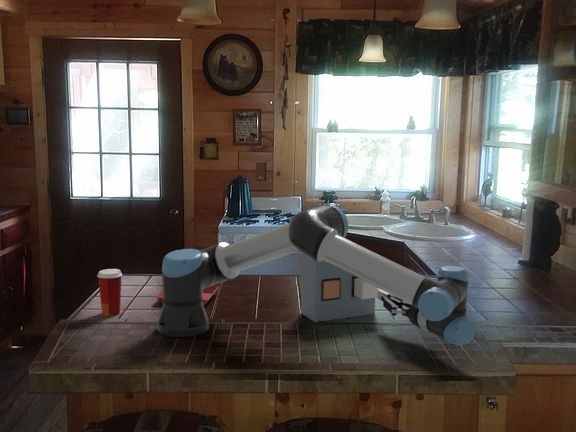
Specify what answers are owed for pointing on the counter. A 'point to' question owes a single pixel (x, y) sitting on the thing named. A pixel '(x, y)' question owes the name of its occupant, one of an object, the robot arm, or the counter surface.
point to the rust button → (330, 288)
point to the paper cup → (110, 291)
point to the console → (331, 307)
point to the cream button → (364, 289)
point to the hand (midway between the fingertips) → (379, 294)
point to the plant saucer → (207, 293)
